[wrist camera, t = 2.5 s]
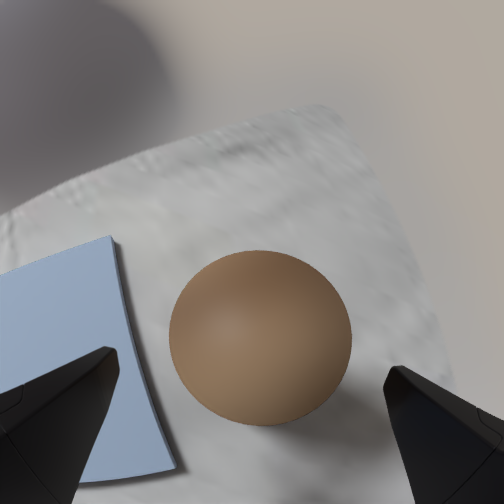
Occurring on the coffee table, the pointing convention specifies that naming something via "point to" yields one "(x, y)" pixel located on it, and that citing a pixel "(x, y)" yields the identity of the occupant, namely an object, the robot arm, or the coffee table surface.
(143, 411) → the blue mat
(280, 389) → the walnut pillar
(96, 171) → the coffee table surface
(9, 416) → the robot arm
